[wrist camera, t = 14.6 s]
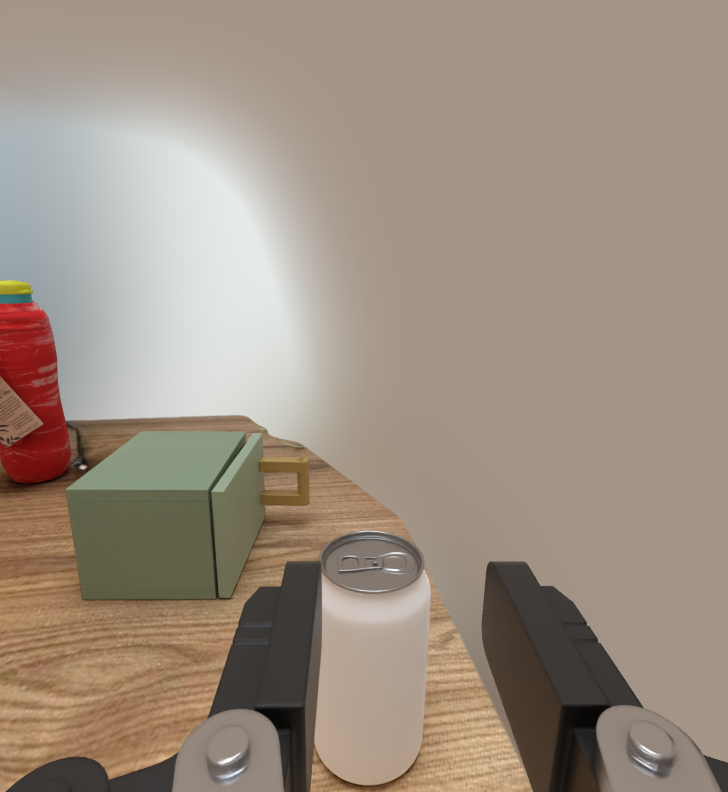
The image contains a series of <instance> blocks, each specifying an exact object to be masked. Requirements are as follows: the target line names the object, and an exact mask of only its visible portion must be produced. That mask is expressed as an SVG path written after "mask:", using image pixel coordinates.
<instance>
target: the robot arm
mask: <svg viewBox="0 0 728 792" xmlns="http://www.w3.org/2000/svg"><path fill="white" fill-rule="evenodd" d="M482 639H483V646H484V650H485V654H486V657H487V660H488V663H489V666H490V669H491V672H492V674H493V677H494V680H495V683H496V686H497V689H498V692H499V695H500V697H501V700H502V703H503V706H504V709H505V712H506V715H507V717H508V720H509V723H510V726H511V729H512V732H513V735H514V738H515V740H516V743H517V746H518V749H519V752H520V755H521V758H522V761H523V764H524V766H525V769H526V772H527V775H528V778H529V781H530V784H531V787H532V789H533V792H728V763H727V762H724V761H720V760H717V759H714V758H711V757H707V756H705V755H703V754H702V752H701V751H700V749H699V748H698V746H697V745H696V744H695V742H694V741H693V740H692V739H691V738H690V737H689V736H688V735H687V734H686V733H685V732H684V731H682V730H681V729H680V728H679V727H678V726H676V725H675V724H674V723H672V722H671V721H669V720H668V719H666V718H664V717H663V716H661V715H659V714H657V713H654V712H652V711H650V710H647V709H644V708H643V706H642V705H641V703H640V702H639V700H638V699H637V697H636V696H635V694H634V693H633V691H632V690H631V688H630V687H629V686H628V684H627V682H626V681H625V679H624V678H623V676H622V675H621V673H620V672H619V670H618V669H617V667H616V666H615V664H614V663H613V661H612V660H611V658H610V657H609V655H608V654H607V652H606V651H605V650H604V648H603V646H602V645H601V643H598V639H597V637H596V636H595V634H594V633H593V631H592V630H591V628H590V627H589V626H587V622H586V621H585V619H584V618H583V616H582V615H581V613H580V612H579V610H578V609H577V607H576V606H575V604H574V603H573V602H572V601H571V600H569V599H568V598H567V597H566V596H564V595H563V594H562V593H561V592H559V591H558V590H557V589H556V588H554V587H553V586H540V584H539V583H538V581H537V579H536V578H535V576H534V574H533V573H532V571H531V570H530V568H529V566H528V565H527V563H525V562H489V564H488V566H487V570H486V581H485V592H484V603H483V614H482ZM321 647H322V566H321V561H287V563H286V567H285V571H284V576H283V580H282V585H281V587H260V588H259V589H258V590H257V591H256V592H255V593H254V594H253V595H252V596H251V597H250V598H249V599H248V601H247V602H246V603H245V605H244V608H243V611H242V614H241V617H240V620H239V623H238V628H237V629H236V633H235V636H234V639H233V645H231V648H230V651H229V654H228V657H227V661H226V664H225V667H224V670H223V673H222V676H221V679H220V682H219V685H218V689H217V692H216V695H215V698H214V701H213V704H212V707H211V710H210V713H209V716H208V718H207V719H206V720H205V721H203V722H202V723H201V724H200V725H198V726H197V727H196V728H195V729H194V730H193V731H192V732H191V733H190V734H189V736H188V737H187V738H186V739H185V741H184V743H183V744H182V746H181V748H180V750H179V752H178V753H177V754H175V755H174V756H172V757H170V758H168V759H167V760H165V761H163V762H161V763H158V764H156V765H153V766H150V767H147V768H144V769H141V770H138V771H135V772H132V773H129V774H126V775H123V776H120V777H117V778H113V779H110V780H108V775H107V773H106V771H105V769H104V768H103V767H102V766H101V765H100V763H98V762H96V761H95V760H93V759H89V758H86V757H68V758H63V759H59V760H56V761H53V762H50V763H47V764H45V765H43V766H41V767H39V768H37V769H35V770H34V771H32V772H30V773H29V774H27V775H26V776H24V777H23V778H21V779H20V780H19V781H17V782H16V783H15V784H14V785H13V786H11V787H10V788H9V789H8V790H7V791H6V792H310V787H311V774H312V762H313V749H314V737H315V724H316V712H317V699H318V687H319V674H320V662H321Z"/></svg>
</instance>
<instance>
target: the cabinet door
mask: <svg viewBox="0 0 728 792" xmlns="http://www.w3.org/2000/svg"><path fill="white" fill-rule="evenodd" d="M264 472H294V473H298V491H284V490H265V485H264ZM211 494H212V508H213V522H214V536H215V550H216V564H217V578H218V592H219V598H231V595H232V593H233V591H234V588H235V586H236V584H237V581H238V579H239V577H240V574H241V572H242V570H243V567H244V565H245V563H246V560H247V558H248V556H249V553H250V551H251V549H252V546H253V544H254V542H255V539H256V537H257V535H258V532H259V530H260V527H261V525H262V523H263V520H264V518H265V516H266V510H265V505H288V506H306V505H308V504H309V459H307V458H277V457H263V437H262V433H253V434H252V436H251V437H250V438H249V440H248V441H247V443H246V444H245V445H244V447H243V448H242V450H241V451H240V452H239V454H238V455H237V457H236V458H235V459H234V461H233V462H232V464H231V465H230V466H229V468H228V469H227V470H226V472H225V473H224V475H223V476H222V477H221V479H220V480H219V482H218V483H217V484H216V486H215V487H214V489H213V490H212V491H211Z"/></svg>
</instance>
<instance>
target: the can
mask: <svg viewBox="0 0 728 792" xmlns="http://www.w3.org/2000/svg"><path fill="white" fill-rule="evenodd" d="M319 561H321V566H322V647H321V662H320V674H319V687H318V699H317V712H316V724H315V737H314V743H315V747H316V750H317V753H318V755H319V757H320V759H321V760H322V762H323V763H324V764H325V766H326V767H327V768H328V769H329V770H330V771H331V772H332V773H334V774H335V775H336V776H338V777H340V778H341V779H343V780H346V781H348V782H351V783H354V784H359V785H379V784H383V783H387V782H389V781H392V780H394V779H396V778H398V777H399V776H401V775H402V774H403V773H405V772H406V771H407V770H408V769H409V768H410V767H411V765H412V764H413V763H414V761H415V759H416V758H417V756H418V753H419V751H420V747H421V743H422V736H423V723H424V708H425V691H426V674H427V656H428V638H429V619H430V583H429V579H428V577H427V574H426V572H425V570H424V557H423V555H422V553H421V551H420V550H419V548H418V547H417V546H416V545H415V544H413V543H412V542H411V541H409V540H407V539H405V538H403V537H401V536H399V535H396V534H392V533H388V532H383V531H356V532H351V533H347V534H344V535H341V536H339V537H337V538H335V539H333V540H332V541H330V542H329V543H328V544H327V545H326V546H325V547H324V548H323V549H322V551H321V553H320V556H319Z"/></svg>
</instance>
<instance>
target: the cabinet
mask: <svg viewBox="0 0 728 792" xmlns="http://www.w3.org/2000/svg"><path fill="white" fill-rule="evenodd" d="M245 444H246V432H182V431H141V432H140V433H139V434H137V435H136V436H135V437H133V438H132V439H131V440H129V441H128V442H127V443H125V444H124V445H123V446H122V447H120V448H119V449H118V450H116V451H115V452H114V453H112V454H111V455H110V456H108V457H107V458H106V459H105V460H103V461H102V462H101V463H99V464H98V465H97V466H95V467H94V468H93V469H91V470H90V471H89V472H88V473H86V474H85V475H84V476H82V477H81V478H80V479H78V480H77V481H76V482H75V483H73V484H72V485H71V486H69V487H68V488H67V489H66V490H65V491H66V497H67V503H68V509H69V515H70V522H71V528H72V535H73V541H74V548H75V554H76V561H77V567H78V573H79V580H80V586H81V593H82V599H83V600H133V599H216V597H217V595H218V578H217V564H216V550H215V536H214V522H213V508H212V494H211V491H212V490H213V489H214V487H215V486H216V484H217V483H218V482H219V480H220V479H221V477H222V476H223V475H224V473H225V472H226V470H227V469H228V468H229V466H230V465H231V464H232V462H233V461H234V459H235V458H236V457H237V455H238V454H239V452H240V451H241V450H242V448H243V447H244V445H245Z"/></svg>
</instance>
